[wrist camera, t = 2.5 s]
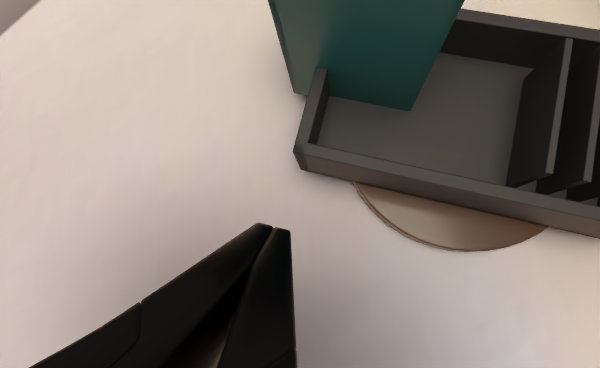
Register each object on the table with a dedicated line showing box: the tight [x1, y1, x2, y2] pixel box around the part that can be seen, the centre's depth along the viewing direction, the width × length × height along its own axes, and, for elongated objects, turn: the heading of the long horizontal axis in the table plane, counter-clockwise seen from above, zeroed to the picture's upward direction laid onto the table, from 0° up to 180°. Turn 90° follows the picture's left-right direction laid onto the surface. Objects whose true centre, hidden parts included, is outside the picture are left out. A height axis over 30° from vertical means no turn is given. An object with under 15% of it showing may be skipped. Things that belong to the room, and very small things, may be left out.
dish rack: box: [268, 0, 600, 238], centre depth 14 cm, size 8×18×12 cm, turn 76°
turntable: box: [353, 182, 548, 252], centre depth 20 cm, size 13×13×1 cm
